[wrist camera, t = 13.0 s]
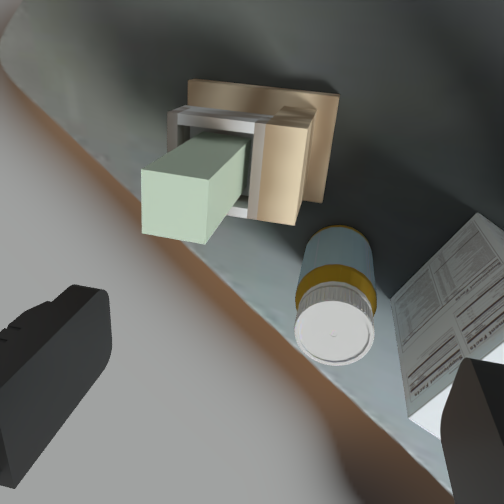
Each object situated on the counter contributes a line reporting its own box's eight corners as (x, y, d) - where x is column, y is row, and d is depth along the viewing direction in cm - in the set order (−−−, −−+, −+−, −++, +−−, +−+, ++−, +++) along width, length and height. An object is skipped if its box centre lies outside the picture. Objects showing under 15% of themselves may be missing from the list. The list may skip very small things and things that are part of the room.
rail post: (251, 138, 35) (208, 179, 25) (246, 186, 37) (205, 244, 27) (202, 131, 36) (141, 169, 25) (200, 178, 38) (141, 233, 27)
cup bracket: (339, 94, 41) (336, 112, 31) (323, 196, 46) (315, 244, 35) (194, 78, 43) (143, 90, 32) (192, 178, 48) (146, 217, 37)
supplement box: (385, 299, 49) (402, 418, 34) (476, 209, 43) (547, 303, 28) (480, 364, 50) (537, 508, 35) (581, 284, 44) (705, 416, 29)
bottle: (343, 209, 46) (341, 278, 32) (385, 258, 47) (399, 343, 34) (292, 247, 49) (270, 325, 35) (333, 292, 50) (326, 383, 37)
